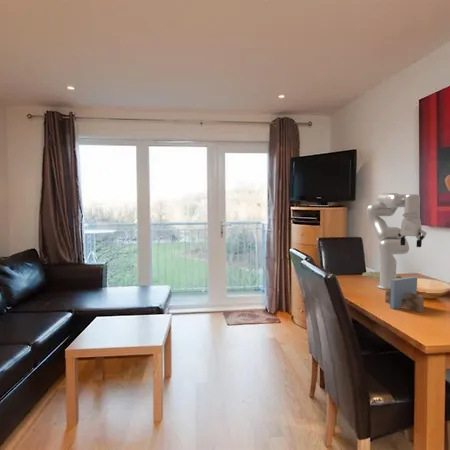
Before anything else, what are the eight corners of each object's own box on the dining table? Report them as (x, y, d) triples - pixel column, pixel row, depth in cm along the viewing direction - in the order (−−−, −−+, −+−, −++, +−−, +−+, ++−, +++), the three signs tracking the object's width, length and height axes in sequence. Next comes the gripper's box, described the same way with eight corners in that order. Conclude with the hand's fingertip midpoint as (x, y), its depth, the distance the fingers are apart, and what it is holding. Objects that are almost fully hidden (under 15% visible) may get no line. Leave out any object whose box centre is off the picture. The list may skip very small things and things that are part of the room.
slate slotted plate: (393, 309, 173) (394, 280, 172) (390, 308, 175) (391, 279, 174) (416, 305, 181) (417, 277, 180) (412, 304, 183) (413, 276, 182)
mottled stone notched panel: (385, 302, 186) (385, 287, 186) (388, 301, 187) (388, 287, 187) (420, 312, 168) (420, 296, 168) (423, 311, 170) (423, 296, 169)
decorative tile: (401, 279, 247) (401, 274, 247) (380, 281, 240) (380, 276, 240) (381, 274, 265) (381, 270, 265) (361, 276, 258) (361, 271, 258)
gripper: (393, 215, 198) (392, 244, 198) (422, 216, 182) (421, 248, 183) (402, 215, 201) (401, 244, 202) (430, 216, 185) (429, 247, 186)
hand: (410, 246), depth 192 cm, fingers open, 9 cm apart
